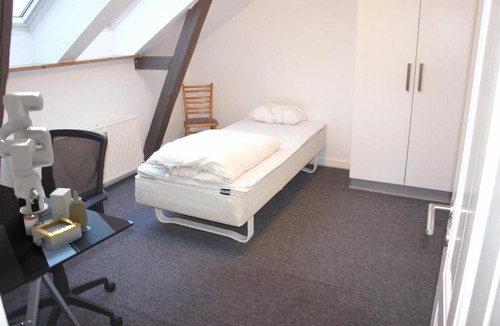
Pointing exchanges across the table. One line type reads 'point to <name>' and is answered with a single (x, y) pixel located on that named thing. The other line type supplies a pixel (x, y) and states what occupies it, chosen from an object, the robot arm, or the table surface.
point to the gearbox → (56, 233)
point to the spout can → (31, 222)
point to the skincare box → (60, 202)
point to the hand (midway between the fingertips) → (29, 208)
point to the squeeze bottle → (78, 210)
